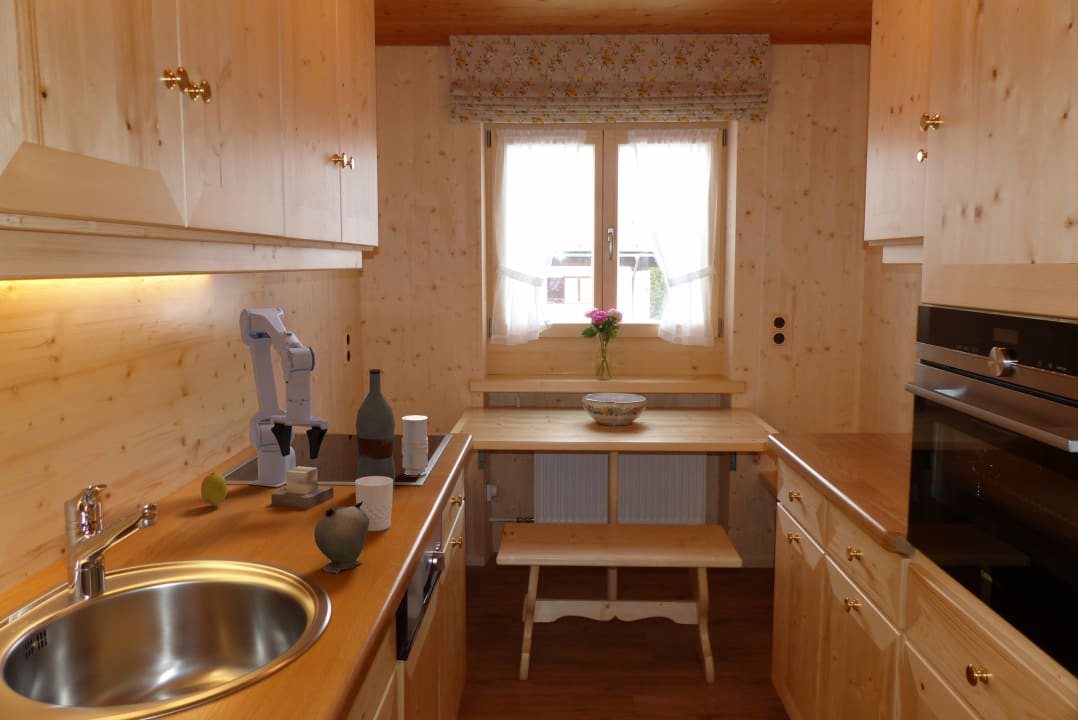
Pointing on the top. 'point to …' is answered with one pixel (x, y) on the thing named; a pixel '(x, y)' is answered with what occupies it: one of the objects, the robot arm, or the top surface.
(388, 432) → the bottle
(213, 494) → the lemon
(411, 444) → the stack of cups
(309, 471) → the maple cube
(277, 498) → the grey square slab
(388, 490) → the white cup
